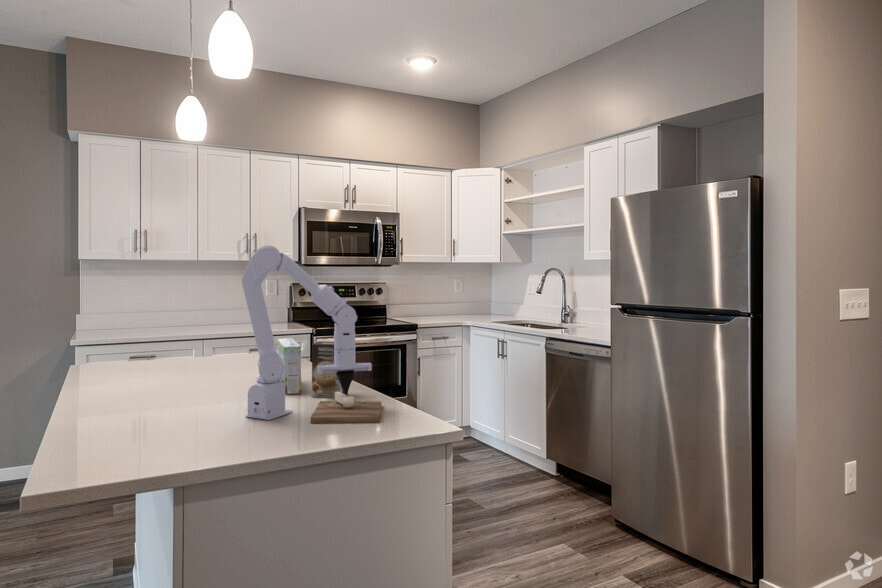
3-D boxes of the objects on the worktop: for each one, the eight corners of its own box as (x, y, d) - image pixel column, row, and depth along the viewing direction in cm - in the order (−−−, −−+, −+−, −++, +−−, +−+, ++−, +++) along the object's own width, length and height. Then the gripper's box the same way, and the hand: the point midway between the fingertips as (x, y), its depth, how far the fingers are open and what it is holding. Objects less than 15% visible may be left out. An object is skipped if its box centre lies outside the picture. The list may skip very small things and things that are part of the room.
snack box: (276, 382, 198) (276, 338, 198) (293, 381, 200) (293, 337, 200) (283, 395, 178) (283, 345, 178) (302, 394, 180) (302, 345, 180)
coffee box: (310, 397, 176) (310, 343, 175) (317, 393, 182) (317, 341, 181) (340, 398, 175) (340, 344, 174) (346, 393, 181) (346, 341, 180)
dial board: (379, 422, 147) (379, 415, 147) (310, 423, 146) (310, 416, 146) (381, 406, 165) (381, 400, 165) (320, 406, 164) (320, 400, 164)
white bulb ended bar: (355, 406, 155) (355, 397, 155) (345, 407, 153) (345, 398, 153) (341, 399, 164) (341, 390, 163) (330, 400, 162) (330, 391, 162)
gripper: (367, 345, 166) (367, 393, 167) (315, 348, 161) (315, 397, 162) (373, 348, 160) (373, 398, 160) (319, 351, 155) (320, 402, 155)
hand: (345, 398), depth 161 cm, fingers closed, pressing on white bulb ended bar
